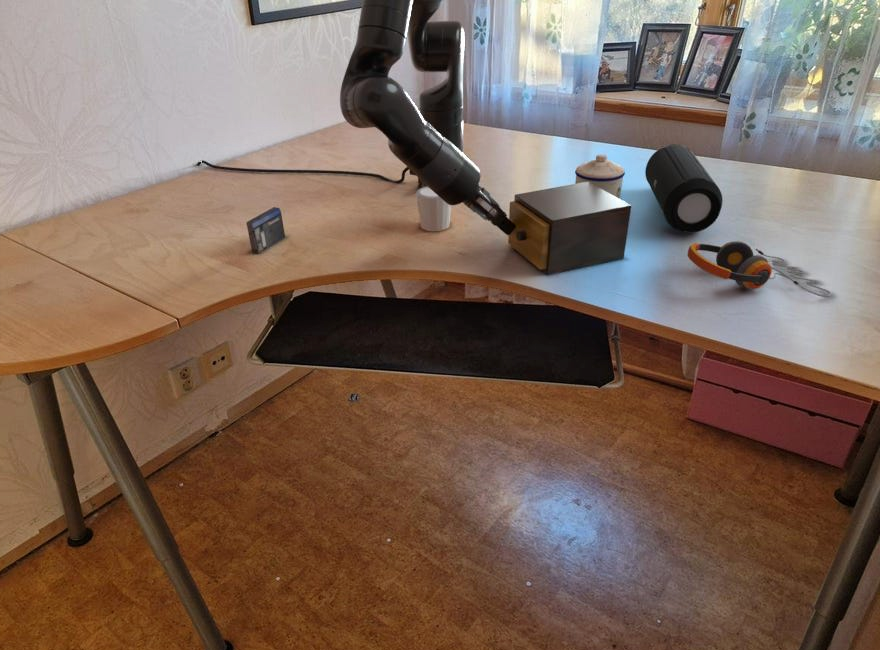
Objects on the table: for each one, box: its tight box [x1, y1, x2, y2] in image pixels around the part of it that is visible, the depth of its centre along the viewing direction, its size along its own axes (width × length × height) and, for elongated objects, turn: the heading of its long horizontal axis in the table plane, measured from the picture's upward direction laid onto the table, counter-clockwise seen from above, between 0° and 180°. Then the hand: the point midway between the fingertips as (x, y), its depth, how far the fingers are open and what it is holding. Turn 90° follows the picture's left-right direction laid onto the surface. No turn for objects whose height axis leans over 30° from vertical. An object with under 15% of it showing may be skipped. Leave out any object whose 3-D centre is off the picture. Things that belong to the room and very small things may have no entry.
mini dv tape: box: [245, 206, 286, 254], centre depth 124 cm, size 8×2×6 cm, turn 151°
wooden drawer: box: [507, 200, 550, 271], centre depth 112 cm, size 15×12×8 cm
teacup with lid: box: [574, 153, 626, 199], centre depth 127 cm, size 12×9×12 cm
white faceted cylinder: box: [416, 187, 452, 232], centre depth 127 cm, size 7×7×7 cm
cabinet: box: [513, 182, 632, 276], centre depth 113 cm, size 15×13×10 cm
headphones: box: [687, 240, 833, 298], centre depth 102 cm, size 17×5×20 cm
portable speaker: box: [644, 144, 723, 233], centre depth 125 cm, size 26×10×10 cm, turn 172°
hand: (510, 229), depth 114 cm, fingers closed
